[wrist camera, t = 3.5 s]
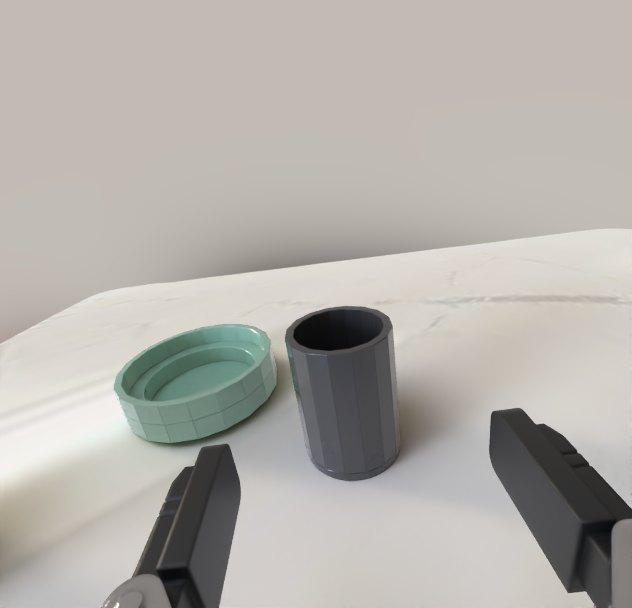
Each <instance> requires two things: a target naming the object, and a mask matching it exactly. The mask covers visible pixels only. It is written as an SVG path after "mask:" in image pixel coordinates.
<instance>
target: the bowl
mask: <svg viewBox="0 0 632 608" xmlns="http://www.w3.org/2000/svg"><path fill="white" fill-rule="evenodd" d="M276 383H277V368H276V363H275V359H274V354H273V349H272V345H271V340H270V339H269V337H268V336H267V334H266V332H264V331H262V330H260V329H258V328H256V327H254V326H248V325H242V324H222V325H214V326H208V327H202V328H198V329H194V330H191V331H187V332H183V333H180V334H178V335H175V336H173V337H170V338H168V339H165V340H163V341H160V342H159V343H157V344H155V345H153V346H151V347H149V348H147V349H146V350H144V351H142V352H141V353H139V354H138V355H137V356H136V357H134V358H133V359H132V360H130V361H129V362H128V363H127V364H126V365H125V366H124V367H123V368H122V370H121V371H120V372H119V373H118V374H117V376H116V380H115V383H114V387H113V389H114V391H115V394H116V396H117V399H118V401H119V403H120V405H121V408H122V410H123V413H124V415H125V417H126V420H127V422H128V424H129V426H130V428H131V430H132V432H133V433H134V434H136V435H138V436H140V437H142V438H144V439H146V440H148V441H155V442H165V443H175V442H182V441H188V440H195V439H200V438H203V437H206V436H209V435H211V434H214V433H217V432H220V431H223V430H225V429H228V428H229V427H231V426H233V425H235V424H236V423H238V422H240V421H241V420H243V419H245V418H247V417H248V416H250V415H251V414H252V413H253V412H254V411H255V410H257V409H258V408H259V407H260V406H261V405H262V404H263V403H264V402H265V401H266V400H267V399H268V398H269V396H270V395H271V393H272V391H273V389H274V388H275V386H276Z"/></svg>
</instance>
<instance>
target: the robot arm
mask: <svg viewBox="0 0 632 608" xmlns="http://www.w3.org/2000/svg"><path fill="white" fill-rule="evenodd" d="M489 453H490V459H491V463H492V466H493V468H494V470H495V472H496V474H497V476H498V478H499V479H500V481H501V483H502V484H503V486H504V487H505V489H506V491H507V492H508V494H509V496H510V497H511V499H512V501H513V502H514V504H515V506H516V507H517V509H518V511H519V512H520V514H521V516H522V517H523V519H524V521H525V522H526V524H527V526H528V527H529V529H530V531H531V532H532V534H533V536H534V537H535V539H536V541H537V542H538V544H539V546H540V547H541V549H542V550H543V552H544V554H545V555H546V557H547V559H548V560H549V562H550V564H551V565H552V567H553V569H554V570H555V572H556V574H557V575H558V577H559V579H560V580H561V582H562V584H563V585H564V587H565V589H566V590H567V592H568V593H574V592H583V591H586V592H587V594H588V595H589V597H590V598H591V600H592V601H593V603H594V604H595V605H594V608H632V509H631V508H630V507H629V506H628V505H627V504H626V503H625V501H624V500H623V499H622V498H621V497H620V496H619V495H618V494H617V493H616V492H615V491H614V490H613V489H612V488H611V486H610V485H609V484H608V483H607V482H606V481H605V480H604V479H603V478H602V477H601V476H600V475H599V474H598V473H597V471H596V470H595V469H594V468H593V467H592V466H589V463H588V462H587V461H586V460H585V459H584V458H583V456H582V455H581V454H580V453H579V454H578V453H577V450H576V449H575V448H574V447H573V446H572V445H571V444H570V442H569V441H568V440H567V439H566V438H565V437H564V436H563V435H561V434H560V433H558V432H557V431H555V430H553V429H552V428H550V427H548V426H547V425H545V424H537V425H536V424H535V423H534V422H533V421H532V420H531V419H530V417H529V416H528V415H527V414H526V413H525V412H524V411H523V410H522V409H520V408H515V409H507V410H499V411H493V412H492V414H491V425H490V445H489ZM240 497H241V488H240V480H239V477H238V473H237V470H236V466H235V463H234V460H233V456H232V453H231V449H230V447H229V445H228V444H221V445H213V446H205V447H202V448H201V450H200V452H199V455H198V458H197V460H196V463H195V466H191V467H185V468H184V469H183V470H182V472H181V473H180V474H179V475H178V476H177V478H176V479H175V480H174V481H173V482H172V485H171V487H170V489H169V492H168V494H167V496H166V499H165V502H164V503H163V506H162V508H161V510H160V513H159V514H160V515H159V517H158V518H157V520H156V522H155V525H154V527H153V529H152V532H151V534H150V536H149V539H148V541H147V543H146V546H145V548H144V551H143V553H142V555H141V558H140V560H139V562H138V565H137V567H136V569H135V572H134V574H133V576H132V578H131V579H129V580H127V581H126V582H124V583H123V584H121V585H120V586H119V587H118V588H117V589H116V590H114V591H113V592H112V594H111V595H110V596H109V597H108V598H107V599H106V601H105V602H104V604H103V605H102V607H101V608H219V604H220V599H221V594H222V589H223V584H224V579H225V574H226V569H227V564H228V559H229V555H230V550H231V545H232V540H233V535H234V530H235V525H236V520H237V515H238V510H239V505H240Z"/></svg>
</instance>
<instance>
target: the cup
mask: <svg viewBox="0 0 632 608" xmlns="http://www.w3.org/2000/svg"><path fill="white" fill-rule="evenodd" d="M285 342H286V347H287V352H288V357H289V362H290V367H291V372H292V377H293V382H294V388H295V393H296V398H297V403H298V408H299V413H300V418H301V423H302V428H303V433H304V438H305V443H306V447H307V449H308V454H309V457H310V459H311V461H312V463H313V464H314V465H315V466H316V467H317V468H318V469H319V470H320V471H321V472H323V473H324V474H326V475H328V476H331V477H333V478H337V479H341V480H362V479H367V478H370V477H373V476H376V475H378V474H380V473H381V472H383V471H384V470H386V469H387V468H388V467H389V466H390V465H391V464H392V463H393V462H394V461H395V459H396V457H397V455H398V453H399V449H400V424H399V410H398V395H397V381H396V367H395V353H394V338H393V326H392V323H391V321H390V318H389V317H388V316H387V315H385V314H383V313H382V312H380V311H378V310H375V309H370V308H366V307H356V306H342V307H334V308H327V309H323V310H320V311H316V312H313V313H310V314H308V315H306V316H304V317H302V318H300V319H298V320H296V321H295V322H294V323H293V324H292V325H291V326H290V327H289V328H288V329H287V331H286V336H285Z"/></svg>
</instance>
